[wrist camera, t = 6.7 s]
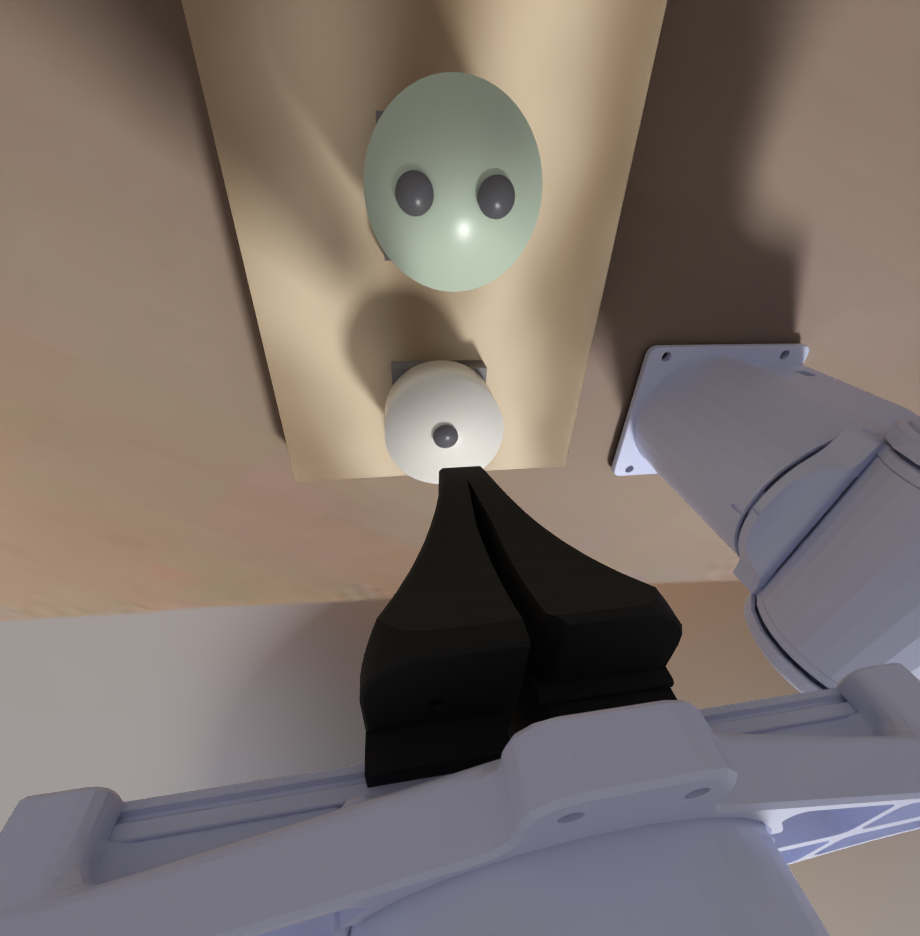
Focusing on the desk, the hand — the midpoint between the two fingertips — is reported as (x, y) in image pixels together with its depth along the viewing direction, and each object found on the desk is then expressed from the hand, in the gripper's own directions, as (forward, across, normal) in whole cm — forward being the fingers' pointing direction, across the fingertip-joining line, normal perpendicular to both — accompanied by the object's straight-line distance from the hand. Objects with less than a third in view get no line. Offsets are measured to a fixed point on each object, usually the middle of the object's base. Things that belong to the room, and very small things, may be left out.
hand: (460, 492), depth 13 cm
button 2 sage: (+5, 0, -8) cm, 9 cm away
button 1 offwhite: (+6, 0, 0) cm, 6 cm away
